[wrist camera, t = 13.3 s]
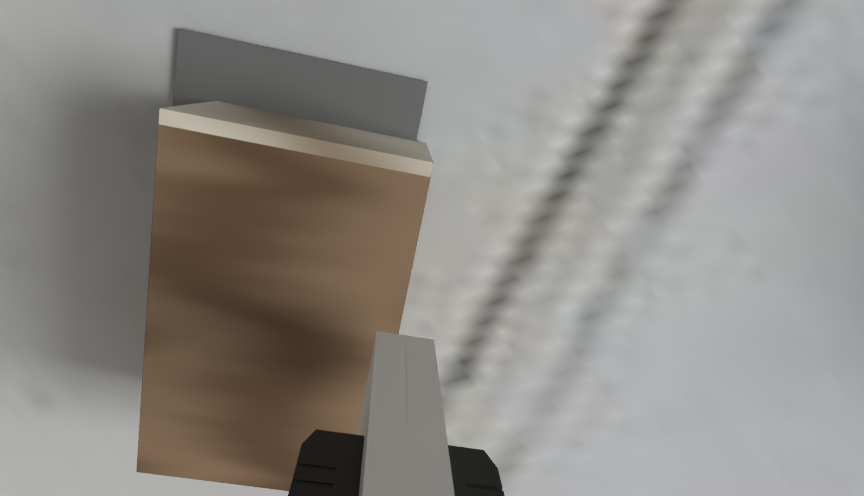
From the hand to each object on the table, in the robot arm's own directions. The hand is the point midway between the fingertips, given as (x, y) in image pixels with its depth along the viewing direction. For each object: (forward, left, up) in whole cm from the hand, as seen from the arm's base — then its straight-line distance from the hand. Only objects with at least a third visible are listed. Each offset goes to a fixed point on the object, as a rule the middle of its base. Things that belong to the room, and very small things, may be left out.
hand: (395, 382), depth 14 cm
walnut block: (-6, -3, -4) cm, 8 cm away
